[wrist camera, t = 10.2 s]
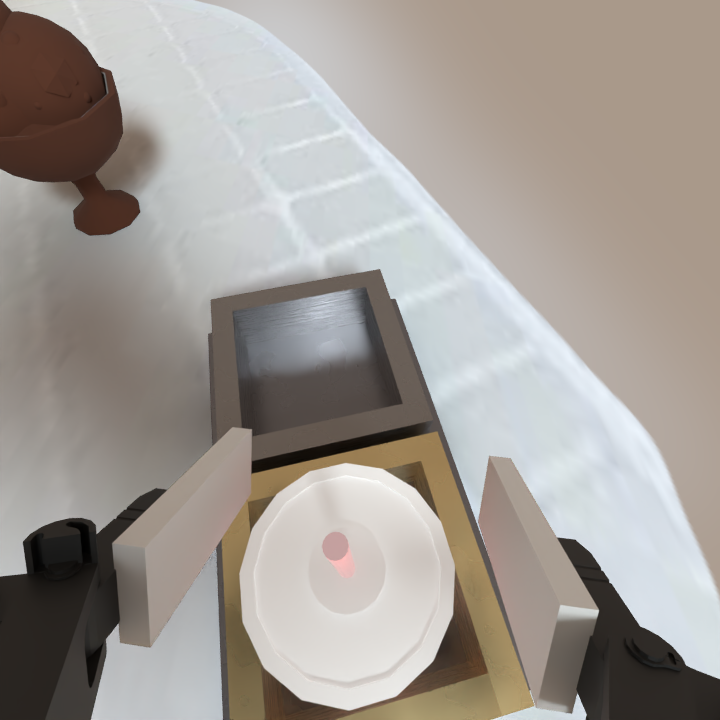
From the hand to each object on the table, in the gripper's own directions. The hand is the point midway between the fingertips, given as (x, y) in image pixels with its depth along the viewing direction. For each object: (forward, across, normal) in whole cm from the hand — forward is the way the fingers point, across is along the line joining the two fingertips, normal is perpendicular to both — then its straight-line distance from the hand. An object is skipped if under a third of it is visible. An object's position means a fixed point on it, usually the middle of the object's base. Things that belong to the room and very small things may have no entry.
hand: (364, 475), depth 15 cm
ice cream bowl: (+21, -25, +10) cm, 34 cm away
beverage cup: (+3, 0, -7) cm, 8 cm away
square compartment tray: (+7, -2, -4) cm, 8 cm away
